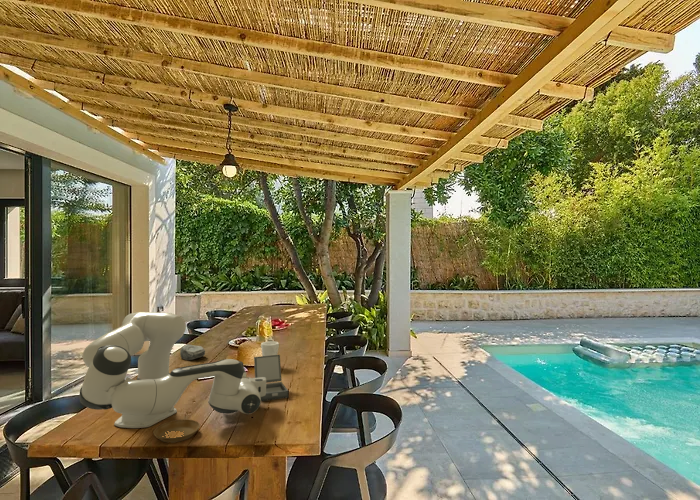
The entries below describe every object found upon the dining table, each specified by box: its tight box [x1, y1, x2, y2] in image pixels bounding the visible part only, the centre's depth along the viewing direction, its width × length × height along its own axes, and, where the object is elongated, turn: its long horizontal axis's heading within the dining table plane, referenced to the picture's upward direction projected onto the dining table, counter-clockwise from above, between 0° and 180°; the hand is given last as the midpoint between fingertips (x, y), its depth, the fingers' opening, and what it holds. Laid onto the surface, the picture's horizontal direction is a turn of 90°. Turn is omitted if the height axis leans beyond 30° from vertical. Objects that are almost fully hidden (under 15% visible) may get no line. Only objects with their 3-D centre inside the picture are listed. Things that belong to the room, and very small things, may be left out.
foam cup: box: [260, 341, 280, 356], centre depth 225 cm, size 10×9×13 cm
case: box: [261, 381, 290, 402], centre depth 184 cm, size 19×12×9 cm, turn 23°
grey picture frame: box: [253, 354, 282, 384], centre depth 189 cm, size 12×12×1 cm
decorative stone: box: [179, 344, 206, 361], centre depth 243 cm, size 15×14×10 cm
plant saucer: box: [153, 419, 201, 443], centre depth 142 cm, size 15×15×3 cm
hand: (238, 380), depth 175 cm, fingers open, 6 cm apart
